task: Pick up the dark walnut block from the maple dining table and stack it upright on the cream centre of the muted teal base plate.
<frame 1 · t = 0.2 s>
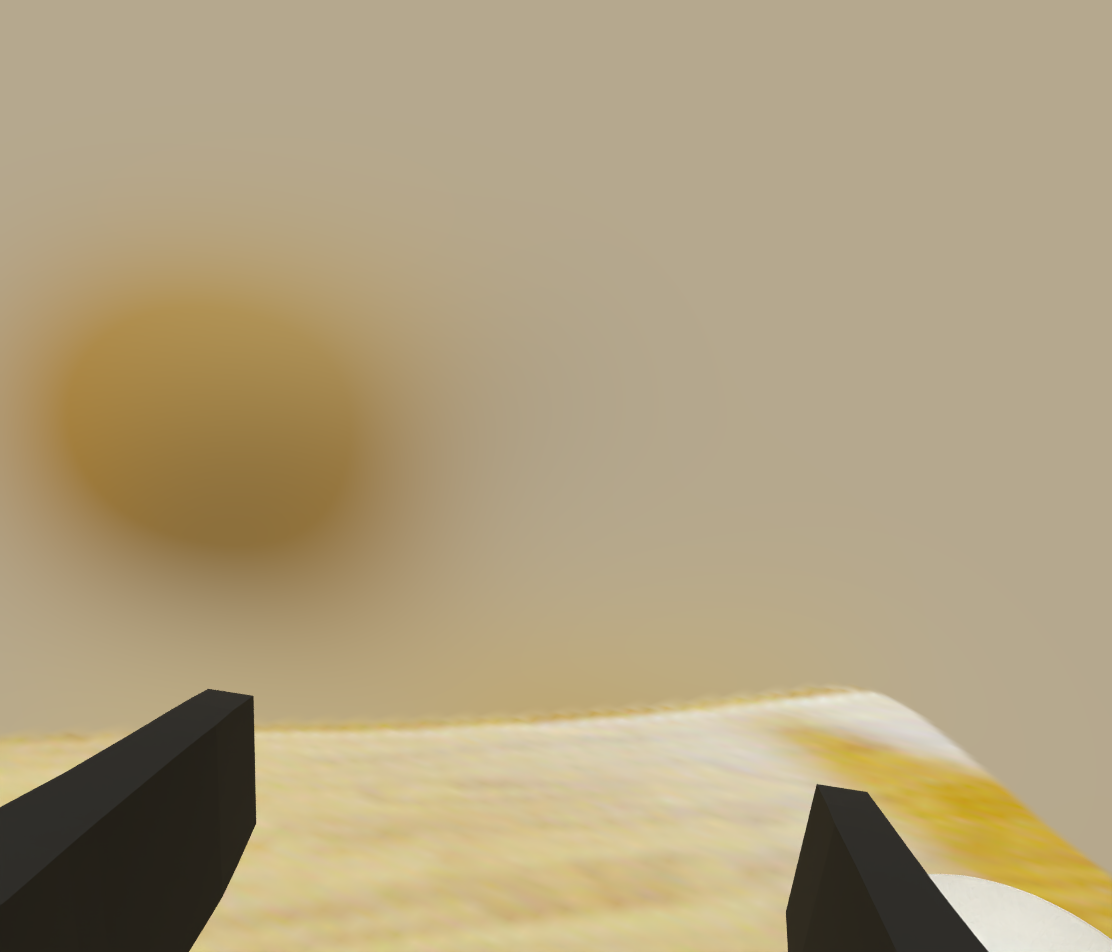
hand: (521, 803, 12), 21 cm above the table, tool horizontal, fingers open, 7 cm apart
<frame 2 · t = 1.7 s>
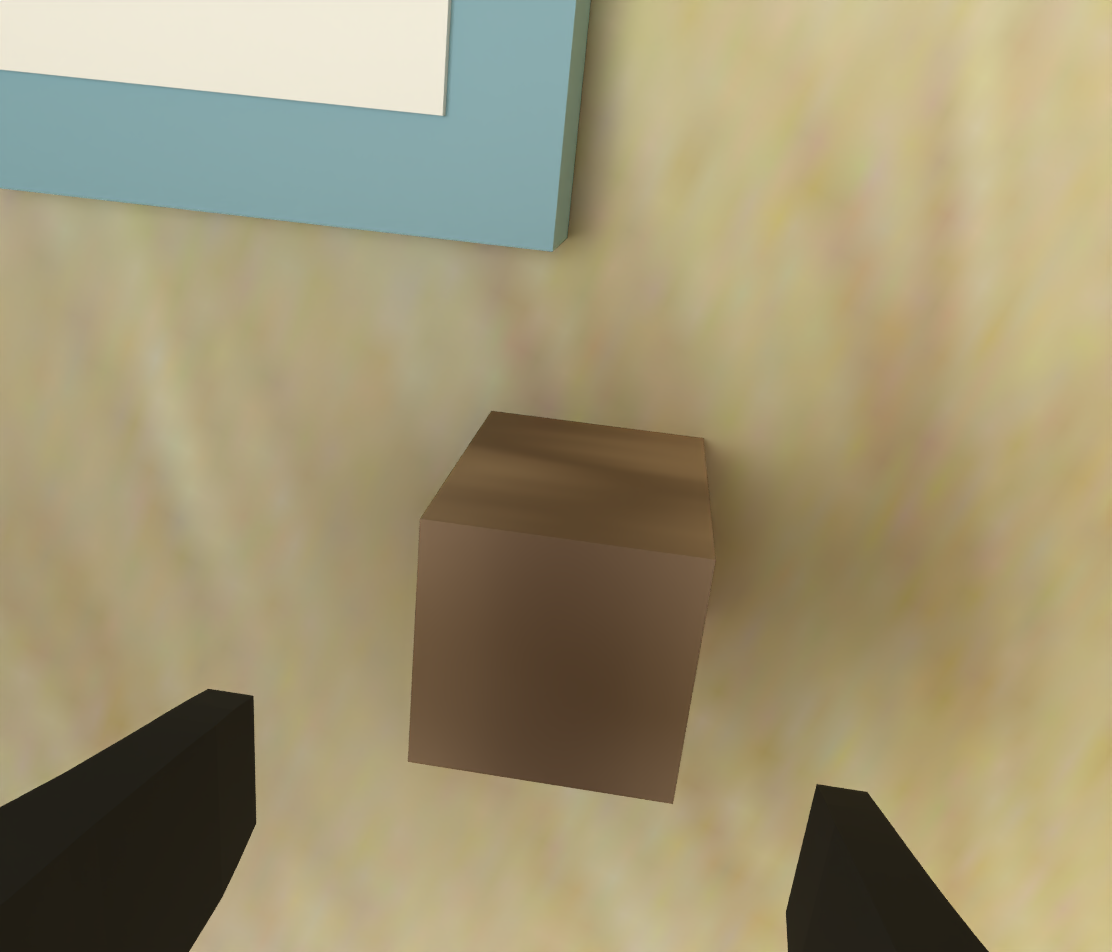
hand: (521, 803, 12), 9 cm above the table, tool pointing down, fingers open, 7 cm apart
walnut block: (585, 521, 20), on the table
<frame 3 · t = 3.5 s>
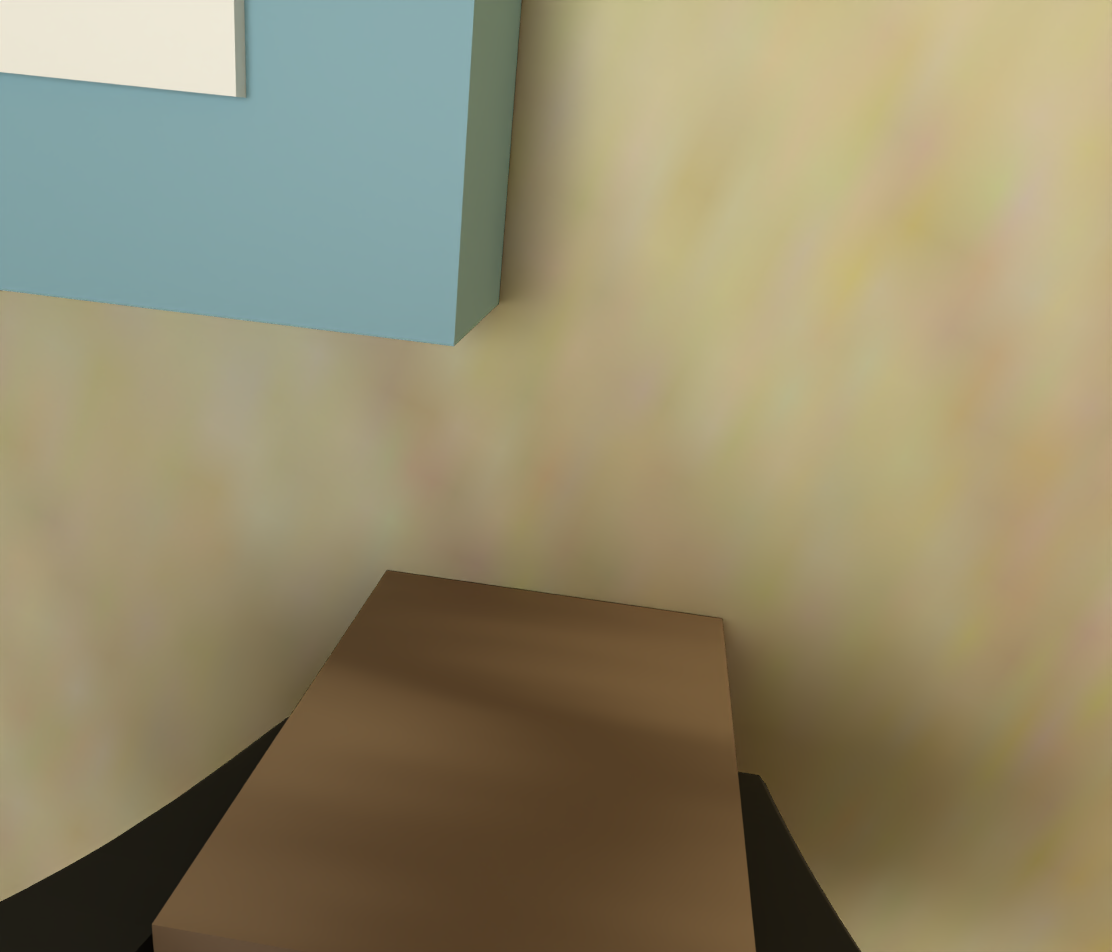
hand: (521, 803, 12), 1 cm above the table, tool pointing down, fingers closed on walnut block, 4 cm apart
walnut block: (536, 735, 13), on the table, touching gripper
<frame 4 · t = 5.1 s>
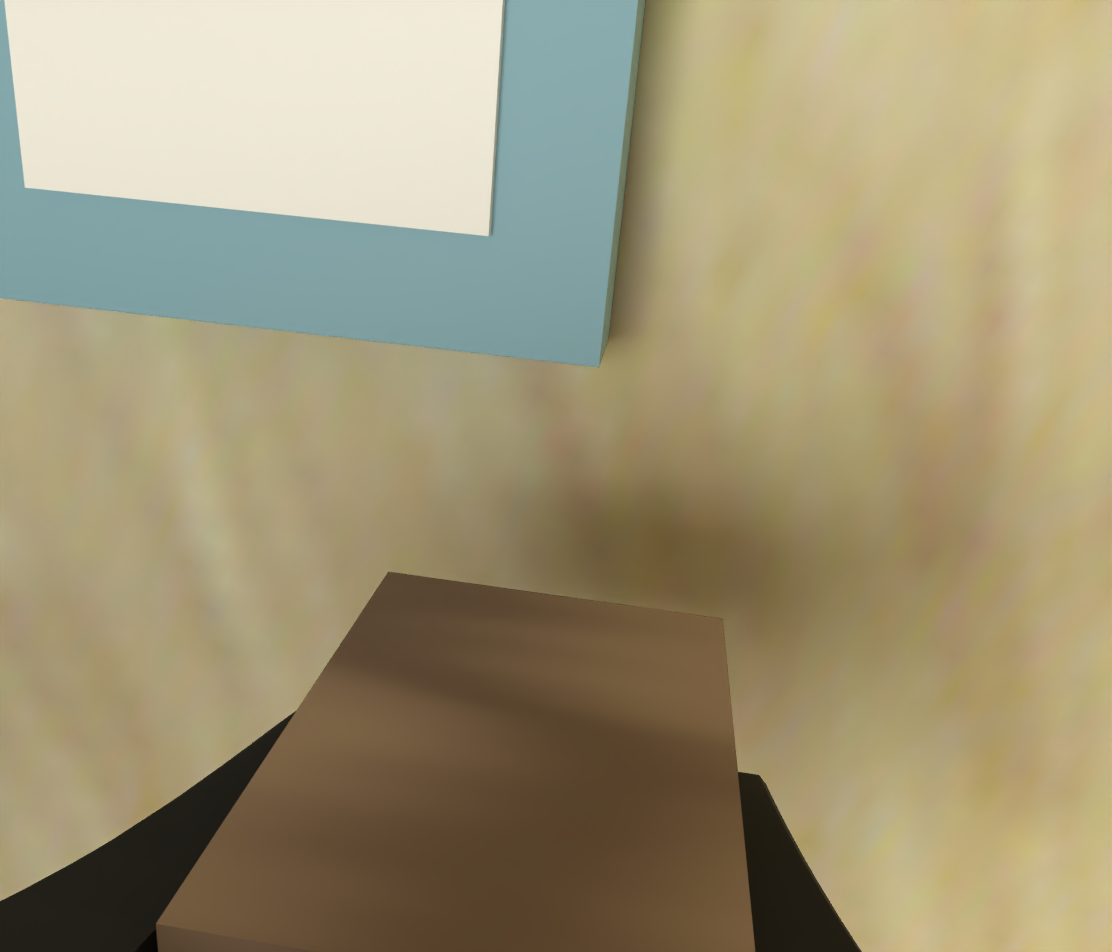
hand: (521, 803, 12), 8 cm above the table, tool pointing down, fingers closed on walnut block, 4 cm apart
walnut block: (538, 735, 13), point 7 cm above the table, touching gripper
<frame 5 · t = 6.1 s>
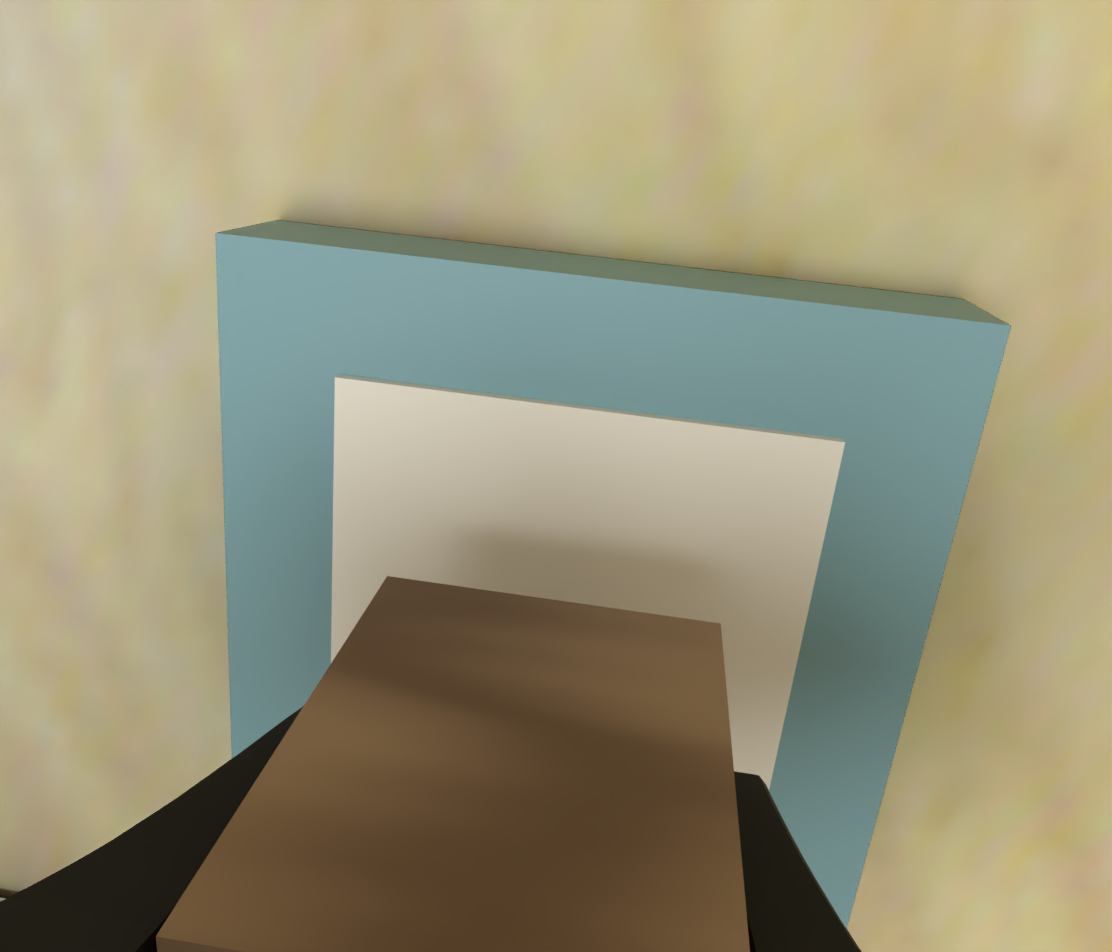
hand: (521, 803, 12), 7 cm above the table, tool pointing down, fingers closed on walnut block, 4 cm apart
teal base: (574, 567, 18), on the table
walnut block: (537, 738, 13), point 5 cm above the table, touching gripper
when the fingers open (5 cm above the table, at t = 6.9 s): walnut block stays where it is, resting on teal base.
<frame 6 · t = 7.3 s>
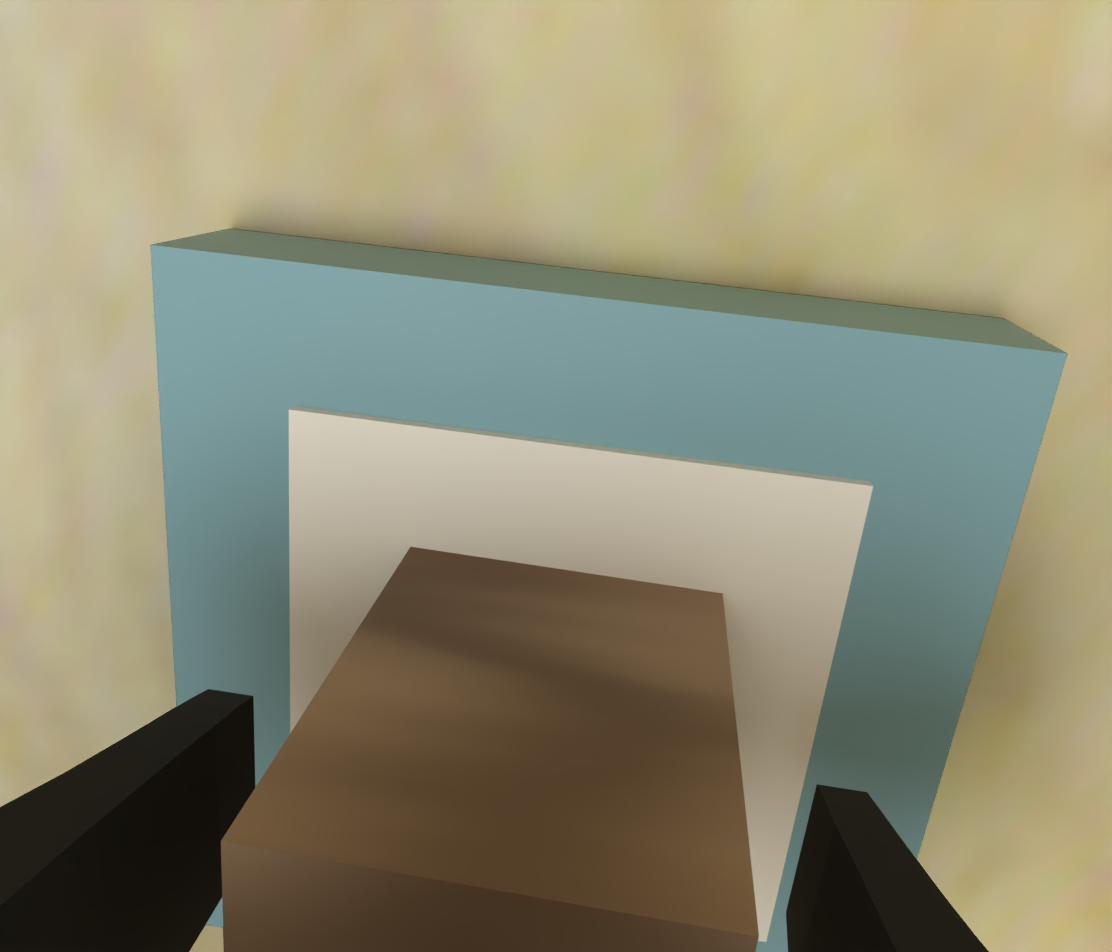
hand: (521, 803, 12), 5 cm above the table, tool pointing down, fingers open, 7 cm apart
teal base: (565, 614, 16), on the table
walnut block: (548, 702, 14), point 3 cm above the table, touching teal base
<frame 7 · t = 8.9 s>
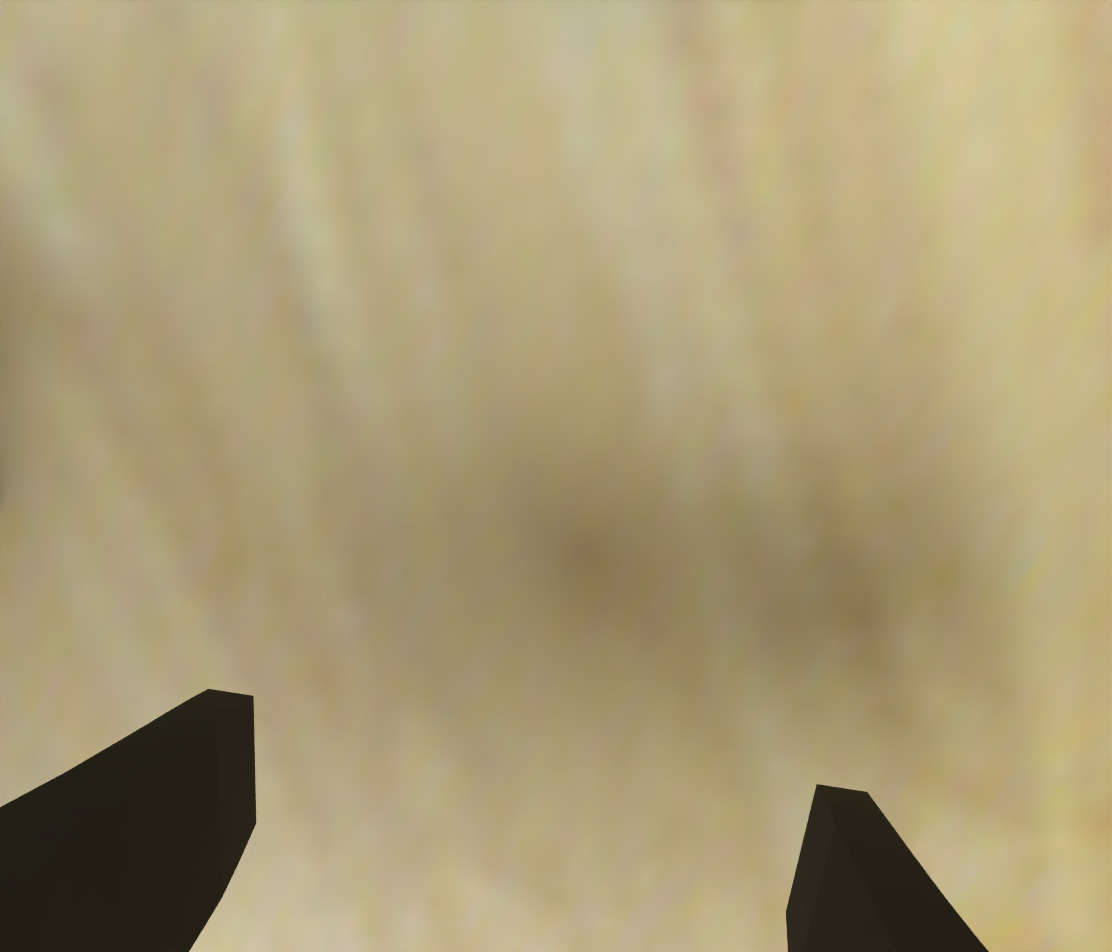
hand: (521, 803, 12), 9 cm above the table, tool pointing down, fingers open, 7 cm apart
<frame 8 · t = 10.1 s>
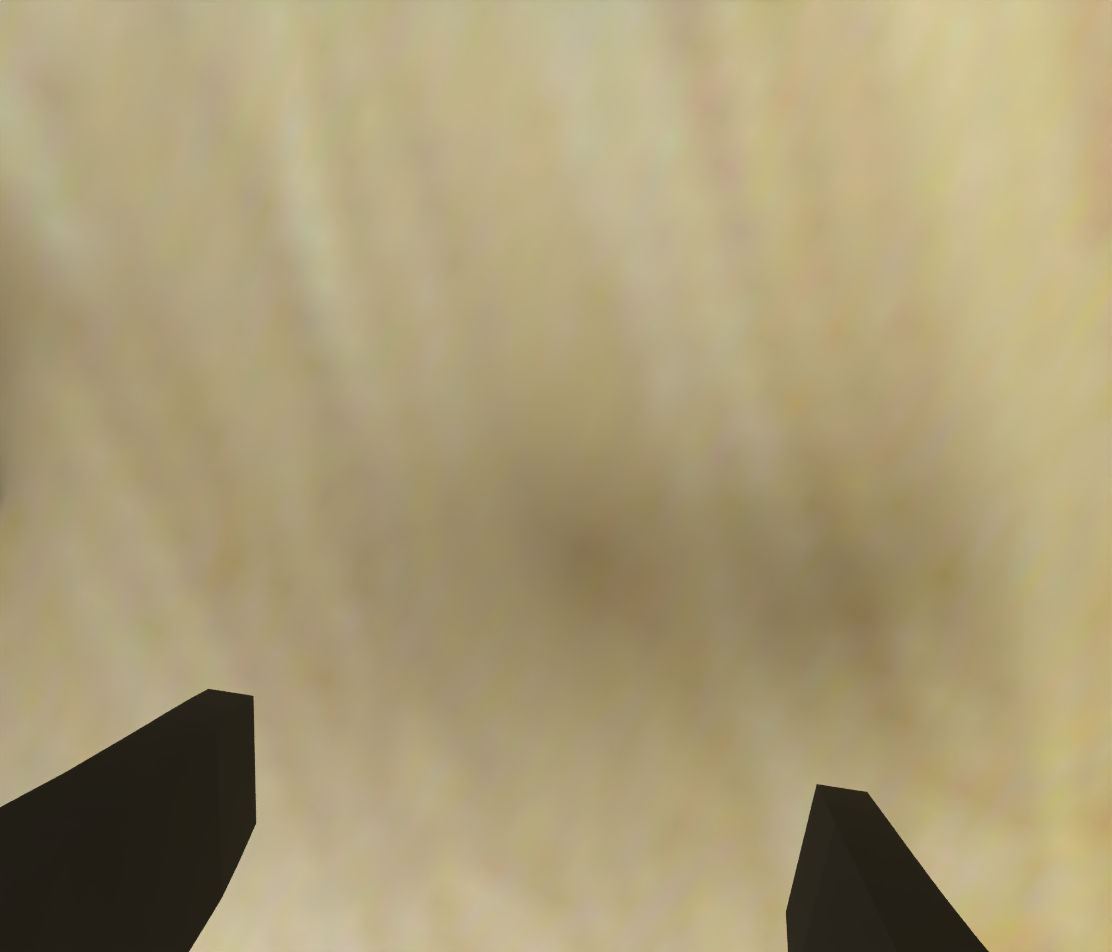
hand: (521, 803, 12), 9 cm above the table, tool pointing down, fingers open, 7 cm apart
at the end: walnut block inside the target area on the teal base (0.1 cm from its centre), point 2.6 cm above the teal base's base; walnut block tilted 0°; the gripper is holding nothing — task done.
